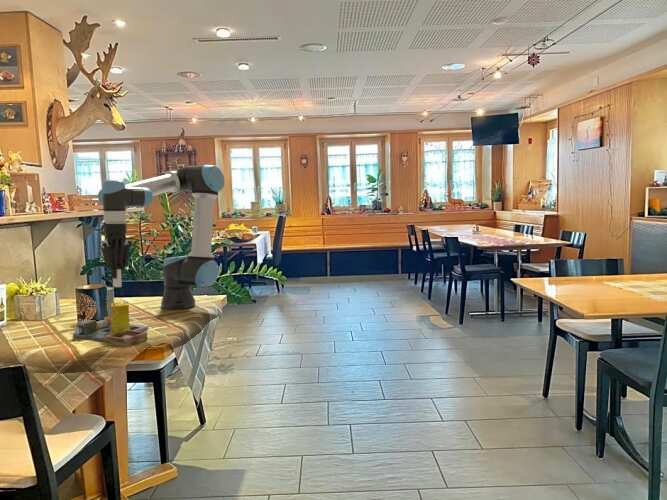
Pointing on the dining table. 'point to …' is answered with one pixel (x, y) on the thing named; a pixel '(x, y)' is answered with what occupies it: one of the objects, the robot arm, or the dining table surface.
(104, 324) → the drift key
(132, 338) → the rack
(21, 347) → the dining table surface
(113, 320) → the supplement box
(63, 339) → the dining table surface
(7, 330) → the dining table surface
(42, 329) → the dining table surface
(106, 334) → the socket block
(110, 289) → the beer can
